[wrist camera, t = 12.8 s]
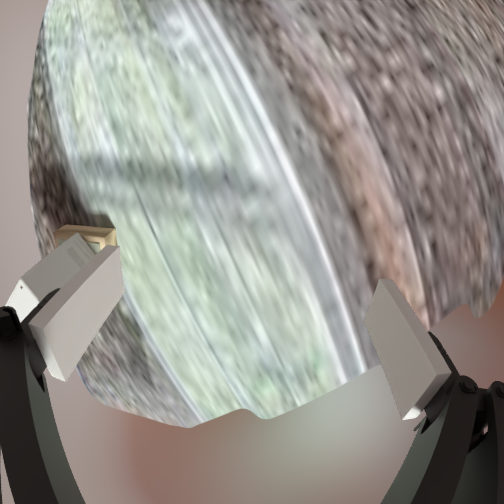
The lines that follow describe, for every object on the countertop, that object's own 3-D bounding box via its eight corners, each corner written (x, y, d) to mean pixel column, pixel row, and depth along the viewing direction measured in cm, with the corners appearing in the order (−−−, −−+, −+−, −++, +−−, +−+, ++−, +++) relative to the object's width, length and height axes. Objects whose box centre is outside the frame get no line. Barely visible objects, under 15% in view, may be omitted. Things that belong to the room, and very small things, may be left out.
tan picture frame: (66, 224, 43) (52, 233, 39) (115, 228, 43) (103, 238, 39) (75, 277, 48) (64, 288, 44) (122, 285, 48) (112, 298, 44)
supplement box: (54, 259, 41) (2, 305, 28) (78, 230, 39) (18, 275, 25) (86, 297, 44) (43, 351, 31) (113, 273, 42) (65, 331, 28)
